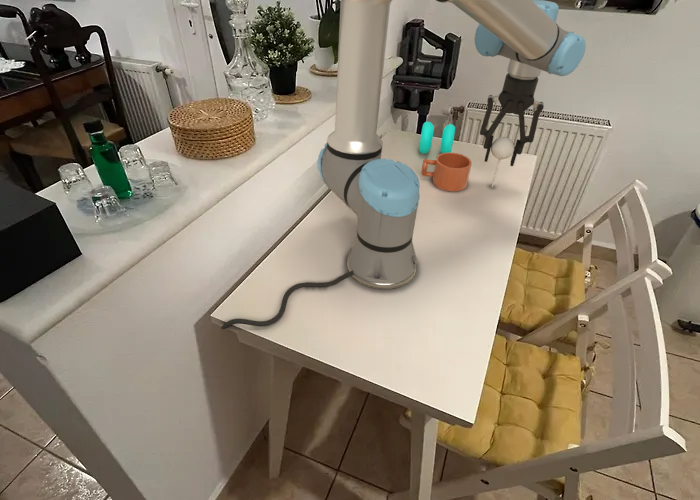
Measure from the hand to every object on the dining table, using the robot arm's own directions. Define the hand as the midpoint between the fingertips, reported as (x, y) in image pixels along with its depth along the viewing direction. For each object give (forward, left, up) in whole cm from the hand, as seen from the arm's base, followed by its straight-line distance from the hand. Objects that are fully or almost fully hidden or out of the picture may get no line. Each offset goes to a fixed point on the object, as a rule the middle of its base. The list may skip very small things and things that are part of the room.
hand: (499, 161), depth 118 cm
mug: (-10, +9, -8) cm, 16 cm away
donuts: (-1, +24, -8) cm, 25 cm away
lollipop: (0, 0, -8) cm, 8 cm away
